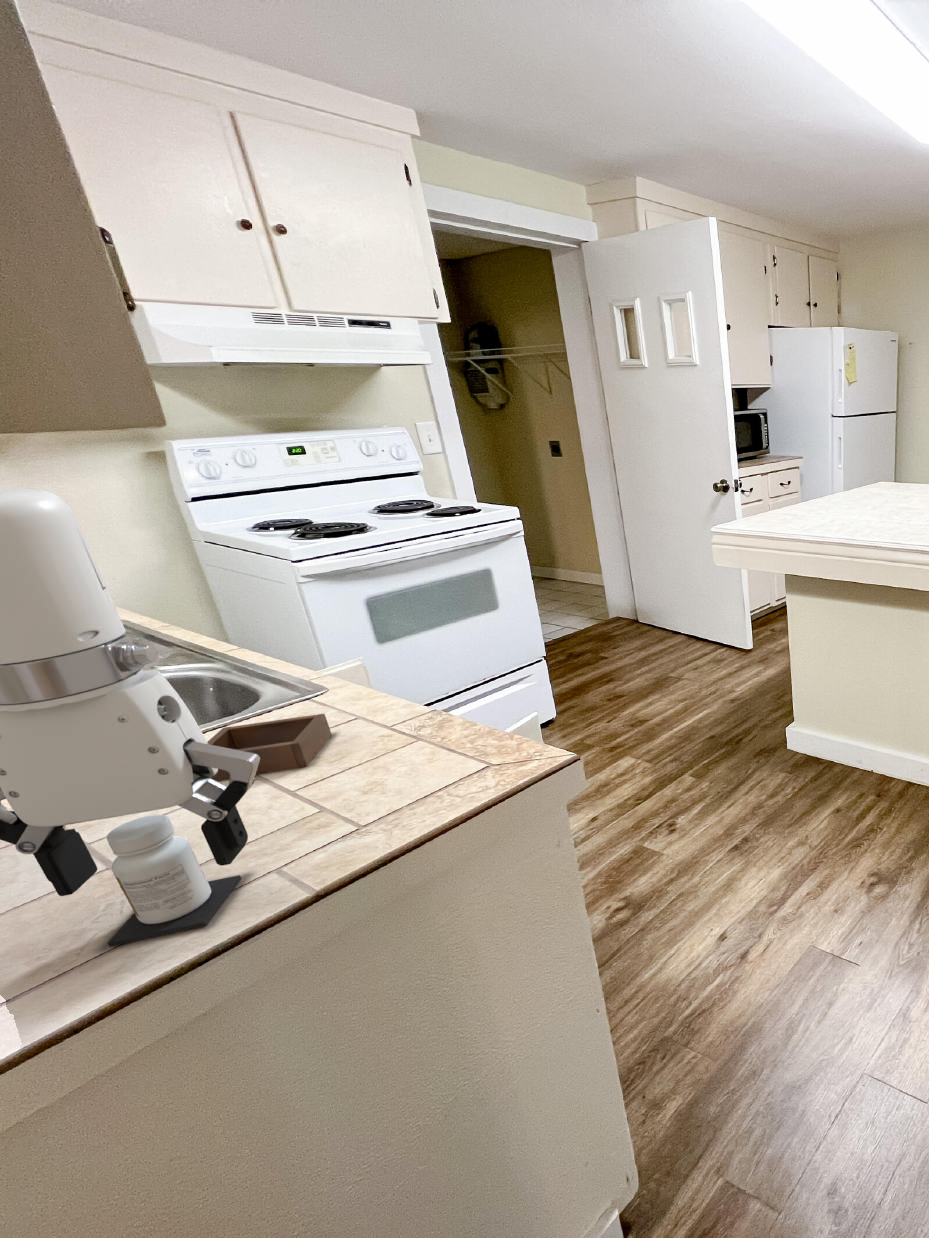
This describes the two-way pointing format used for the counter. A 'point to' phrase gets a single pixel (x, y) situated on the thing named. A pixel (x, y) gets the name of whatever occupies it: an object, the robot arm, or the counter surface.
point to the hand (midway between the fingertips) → (158, 869)
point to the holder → (276, 742)
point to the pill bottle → (157, 870)
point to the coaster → (194, 919)
